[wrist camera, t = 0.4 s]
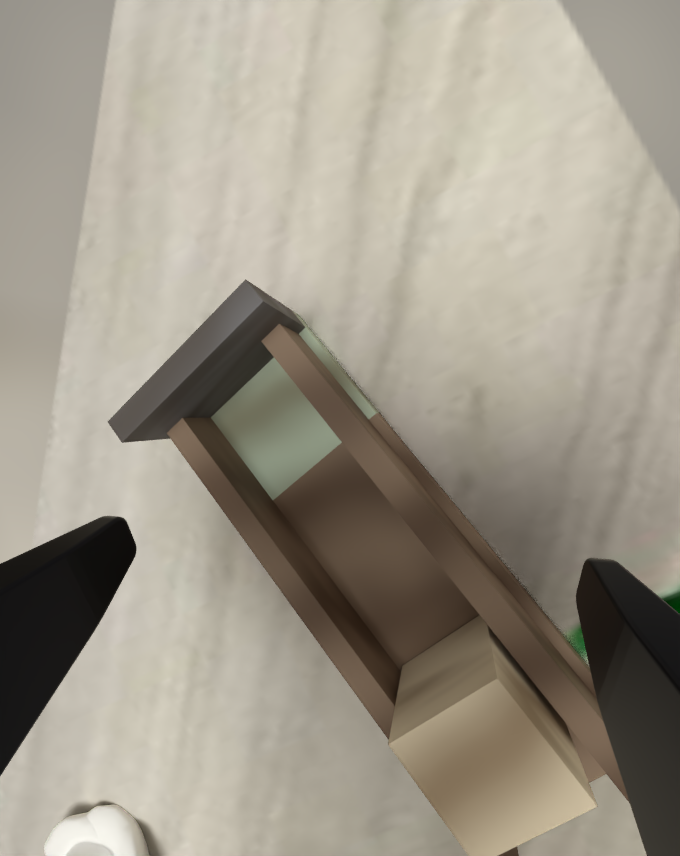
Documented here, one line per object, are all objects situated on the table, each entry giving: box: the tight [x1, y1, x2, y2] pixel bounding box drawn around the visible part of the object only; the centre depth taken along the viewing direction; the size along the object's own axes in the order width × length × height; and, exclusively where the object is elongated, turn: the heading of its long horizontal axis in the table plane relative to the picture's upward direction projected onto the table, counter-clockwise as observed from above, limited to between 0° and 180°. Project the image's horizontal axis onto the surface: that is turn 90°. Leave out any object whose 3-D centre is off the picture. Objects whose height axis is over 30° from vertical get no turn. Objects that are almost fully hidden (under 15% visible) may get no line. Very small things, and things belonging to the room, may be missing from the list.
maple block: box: [388, 615, 598, 856], centre depth 17 cm, size 5×5×5 cm
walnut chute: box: [108, 280, 630, 856], centre depth 18 cm, size 26×9×6 cm, turn 40°
